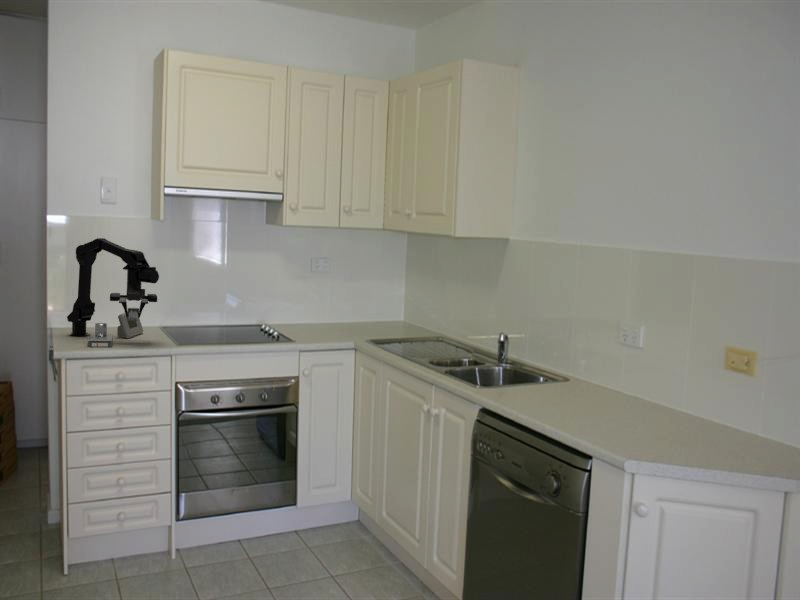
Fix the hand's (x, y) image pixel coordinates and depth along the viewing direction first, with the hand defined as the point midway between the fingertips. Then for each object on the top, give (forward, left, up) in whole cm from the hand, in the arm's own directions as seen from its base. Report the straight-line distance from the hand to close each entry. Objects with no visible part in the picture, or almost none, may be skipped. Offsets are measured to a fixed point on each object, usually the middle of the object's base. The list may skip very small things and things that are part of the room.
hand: (133, 317), depth 312 cm
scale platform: (+5, -12, -8) cm, 16 cm away
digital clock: (-17, -1, -11) cm, 20 cm away
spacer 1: (+2, -12, -7) cm, 15 cm away
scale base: (+5, -12, -11) cm, 17 cm away
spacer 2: (0, 0, -1) cm, 1 cm away
